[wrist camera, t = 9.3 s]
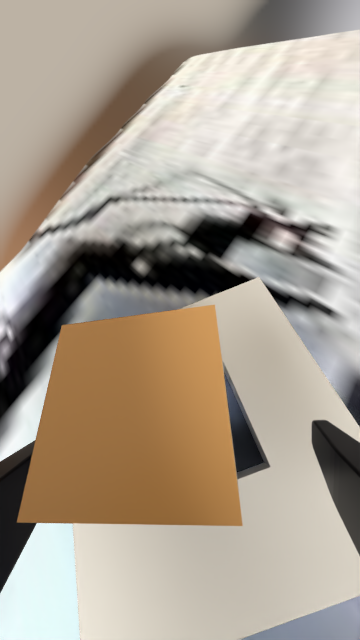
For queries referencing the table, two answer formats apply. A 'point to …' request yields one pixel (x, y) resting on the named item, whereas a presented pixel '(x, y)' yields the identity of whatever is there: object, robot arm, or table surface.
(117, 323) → the plug
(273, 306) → the socket block
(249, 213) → the table surface
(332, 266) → the table surface
